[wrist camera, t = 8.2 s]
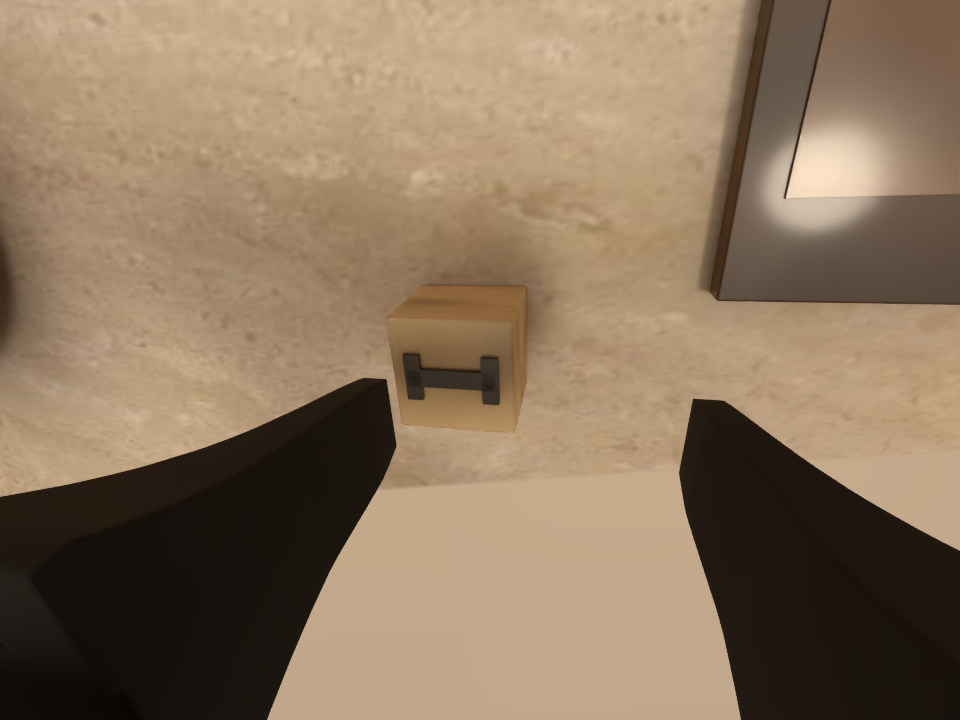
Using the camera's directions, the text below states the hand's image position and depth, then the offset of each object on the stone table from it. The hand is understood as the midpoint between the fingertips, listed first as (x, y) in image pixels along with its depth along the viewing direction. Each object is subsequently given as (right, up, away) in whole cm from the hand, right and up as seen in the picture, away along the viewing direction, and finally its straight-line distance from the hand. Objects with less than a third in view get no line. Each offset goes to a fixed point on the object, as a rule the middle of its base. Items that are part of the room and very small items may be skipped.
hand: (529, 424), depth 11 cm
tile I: (-1, +3, +9) cm, 9 cm away
